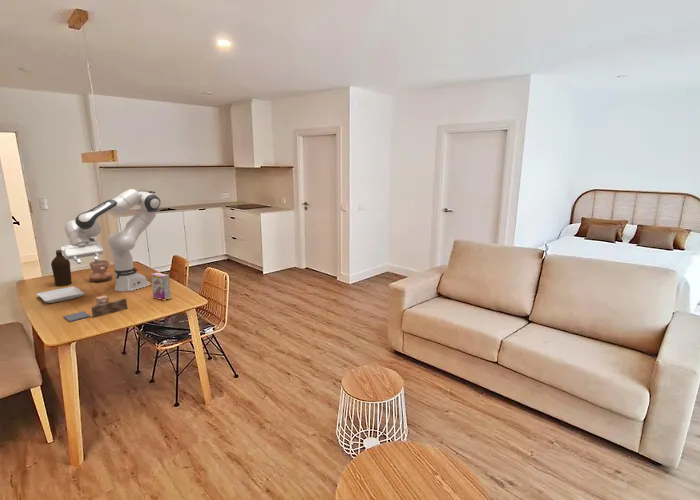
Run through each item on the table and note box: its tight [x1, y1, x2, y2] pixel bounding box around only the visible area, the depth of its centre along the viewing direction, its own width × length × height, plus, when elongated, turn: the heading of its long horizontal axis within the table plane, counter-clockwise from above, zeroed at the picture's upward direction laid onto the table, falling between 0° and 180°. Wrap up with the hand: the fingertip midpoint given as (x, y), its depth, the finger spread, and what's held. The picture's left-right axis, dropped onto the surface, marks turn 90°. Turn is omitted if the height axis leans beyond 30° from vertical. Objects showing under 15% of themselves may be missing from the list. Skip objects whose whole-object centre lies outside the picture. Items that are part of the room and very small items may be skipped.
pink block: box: [95, 294, 110, 306], centre depth 230 cm, size 5×5×8 cm
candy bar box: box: [150, 272, 172, 299], centre depth 250 cm, size 11×5×16 cm, turn 65°
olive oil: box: [50, 249, 73, 287], centre depth 271 cm, size 11×11×25 cm
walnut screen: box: [91, 298, 128, 318], centre depth 226 cm, size 18×2×6 cm, turn 142°
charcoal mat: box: [63, 310, 91, 323], centre depth 219 cm, size 10×10×1 cm
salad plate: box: [36, 286, 85, 304], centre depth 249 cm, size 21×21×3 cm
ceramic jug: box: [88, 259, 113, 283], centre depth 284 cm, size 18×14×14 cm
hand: (88, 261), depth 233 cm, fingers open, 8 cm apart
